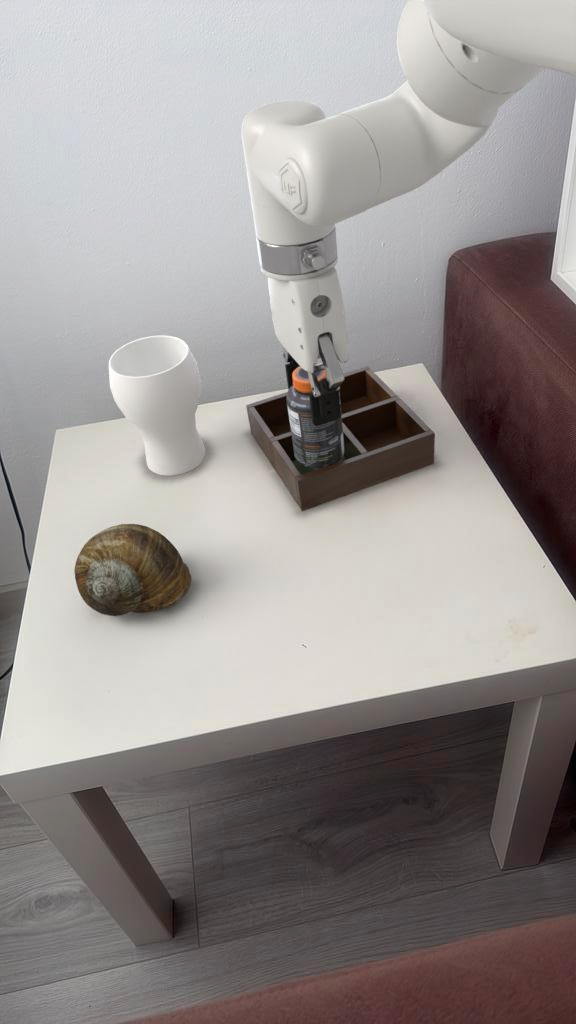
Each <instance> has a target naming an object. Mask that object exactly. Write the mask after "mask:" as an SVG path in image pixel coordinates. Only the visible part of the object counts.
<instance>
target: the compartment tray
mask: <svg viewBox="0 0 576 1024" xmlns="http://www.w3.org/2000/svg"><path fill="white" fill-rule="evenodd" d="M343 375H344V381H343V382H342V383H341V385H340V390H339V394H340V404H341V416H342V427H343V439H344V454H343V457H342V458H341V459H340V460H339V461H338V462H337V463H335V464H333V465H330V466H327V467H324V468H309V467H306V466H303V465H302V464H300V463H299V462H298V461H297V460H296V458H295V454H294V448H293V441H292V434H291V427H290V421H289V414H288V406H287V398H286V397H287V392H288V391H285V392H282V393H280V394H276V395H274V396H273V395H272V396H270V397H267V398H265V399H264V398H263V399H261V400H258V401H254V402H251V403H248V404H246V405H245V408H246V414H247V418H248V424H249V429H250V430H249V431H250V434H251V436H252V438H253V439H254V440H255V442H256V444H257V445H258V447H259V448H260V450H261V451H262V453H263V454H264V456H265V457H266V459H267V460H268V462H269V464H270V465H271V467H272V468H273V469H274V471H275V472H276V474H277V476H278V477H279V479H280V480H281V482H282V483H283V485H284V486H285V488H286V489H287V491H288V492H289V494H290V495H291V497H292V498H293V500H294V502H295V503H296V505H297V506H298V508H299V509H300V511H301V512H305V511H307V510H311V509H313V508H316V507H318V506H321V505H324V504H326V503H330V502H332V501H335V500H337V499H340V498H343V497H346V496H349V495H351V494H354V493H357V492H360V491H362V490H365V489H368V488H371V487H374V486H376V485H379V484H382V483H385V482H388V481H390V480H393V479H396V478H398V477H401V476H404V475H407V474H409V473H412V472H416V471H418V470H420V469H421V470H422V469H424V468H427V467H429V466H432V465H435V444H436V443H435V441H436V433H435V431H433V430H432V428H431V427H429V425H428V424H426V423H425V422H424V420H423V419H421V418H420V416H418V414H416V413H415V411H413V410H412V408H411V407H409V406H408V405H407V404H406V402H404V400H402V399H401V398H400V396H399V395H397V393H395V392H394V391H393V390H392V389H391V388H390V387H389V386H388V384H386V383H385V382H384V381H383V380H382V378H380V377H379V376H378V375H377V374H376V373H375V371H373V370H372V368H371V367H369V365H366V366H364V367H360V368H357V369H354V370H351V371H348V372H345V373H344V372H343Z"/></svg>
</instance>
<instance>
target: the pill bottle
mask: <svg viewBox="0 0 576 1024" xmlns="http://www.w3.org/2000/svg"><path fill="white" fill-rule="evenodd" d="M315 364H318V363H317V362H316V363H314V365H315ZM316 375H317V379H318V383H319V382H320V381H321V380H322V379H324V378H325V377H326V371H325V370H322V371H319V372H316ZM292 378H293V385H292V386H291V387H290V389H289V390H288V389H287V391H286V392H287V397H286V398H287V406H288V414H289V421H290V427H291V434H292V441H293V448H294V454H295V458H296V460H297V461H298V462H299V463H300V464H302V465H303V466H306V467H309V468H324V467H327V466H330V465H333V464H335V463H337V462H338V461H339V460H340V459H341V458H342V457H343V454H344V439H343V427H342V416H341V417H340V418H339V419H337V420H334V421H331V422H328V423H325V424H322V425H319V426H315V425H314V424H313V423H312V416H311V407H310V399H309V393H312V389H311V385H310V381H309V377H308V372H307V371H305V370H304V369H303V368H302V367H301V366H299V367H298V368H296V369H295V370H294V371H293V374H292ZM339 397H340V394H339ZM340 410H341V404H340Z"/></svg>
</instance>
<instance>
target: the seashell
mask: <svg viewBox="0 0 576 1024" xmlns="http://www.w3.org/2000/svg"><path fill="white" fill-rule="evenodd" d="M73 572H74V578H75V583H76V587H77V591H78V594H79V595H80V597H81V599H82V600H83V602H84V603H85V605H87V606H88V607H89V608H91V609H92V610H93V611H95V612H97V613H99V614H101V615H105V616H109V617H121V616H125V615H127V614H128V615H129V614H131V613H134V614H147V613H156V612H160V611H163V610H166V609H168V608H171V607H173V606H175V605H176V604H178V603H179V602H180V601H181V600H182V599H183V598H184V597H185V596H186V594H187V592H188V590H189V589H190V586H191V581H192V575H191V573H190V569H189V567H188V565H187V564H186V563H185V562H184V559H183V557H182V556H181V554H180V552H179V550H178V548H176V547H175V545H174V544H173V542H171V541H170V540H169V539H168V538H167V537H166V536H164V535H163V534H162V533H161V532H159V531H157V530H156V529H153V528H151V527H149V526H147V525H142V524H137V523H121V524H117V525H113V526H110V527H107V528H105V529H103V530H101V531H99V532H97V533H96V534H95V535H93V536H92V537H91V538H89V539H88V541H86V543H85V544H84V545H83V546H82V548H81V550H80V551H79V554H78V555H77V558H76V560H75V564H74V571H73Z"/></svg>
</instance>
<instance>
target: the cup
mask: <svg viewBox="0 0 576 1024" xmlns="http://www.w3.org/2000/svg"><path fill="white" fill-rule="evenodd" d="M108 377H109V378H108V379H109V381H108V382H109V388H110V391H111V394H112V397H113V400H114V402H115V404H116V406H117V407H118V408H119V410H120V411H121V413H122V414H123V415H124V417H125V419H126V420H127V421H129V422H130V423H131V424H132V425H133V426H134V427H135V428H136V429H137V430H138V432H139V434H140V436H141V438H142V441H143V443H144V452H145V460H146V466H147V467H148V469H149V470H150V471H151V472H152V473H154V474H157V475H159V476H169V477H170V476H179V475H183V474H185V473H188V472H190V471H192V470H193V469H196V468H197V467H199V465H201V464H202V462H203V461H204V459H205V458H206V453H207V452H206V447H205V445H204V442H203V439H202V437H201V435H200V433H199V430H198V429H197V423H196V421H197V420H196V413H197V410H198V407H199V403H200V400H201V390H202V380H201V379H202V378H201V375H200V371H199V365H198V362H197V360H196V358H195V356H194V354H193V352H192V350H191V348H190V346H189V345H188V344H187V343H186V341H185V340H183V339H181V338H180V337H178V336H177V337H176V336H172V335H163V334H162V335H161V334H160V335H149V336H145V337H140V338H137V339H135V340H132V341H130V342H129V341H128V342H127V343H126V344H124V345H123V344H122V346H120V347H119V348H117V349H116V350H114V352H113V353H112V354H111V356H110V358H109V360H108Z"/></svg>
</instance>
